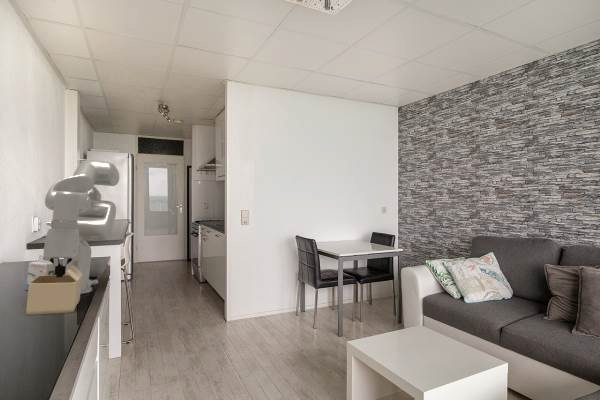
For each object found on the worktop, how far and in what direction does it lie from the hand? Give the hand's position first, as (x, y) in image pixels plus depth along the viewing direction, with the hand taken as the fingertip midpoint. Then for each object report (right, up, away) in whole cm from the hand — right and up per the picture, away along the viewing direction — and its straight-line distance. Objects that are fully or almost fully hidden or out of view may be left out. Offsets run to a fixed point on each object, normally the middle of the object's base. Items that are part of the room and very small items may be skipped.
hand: (59, 276), depth 121 cm
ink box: (-23, -11, +20) cm, 32 cm away
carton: (-1, -11, -1) cm, 11 cm away
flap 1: (-5, +2, -2) cm, 5 cm away
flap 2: (+4, +1, +2) cm, 4 cm away
